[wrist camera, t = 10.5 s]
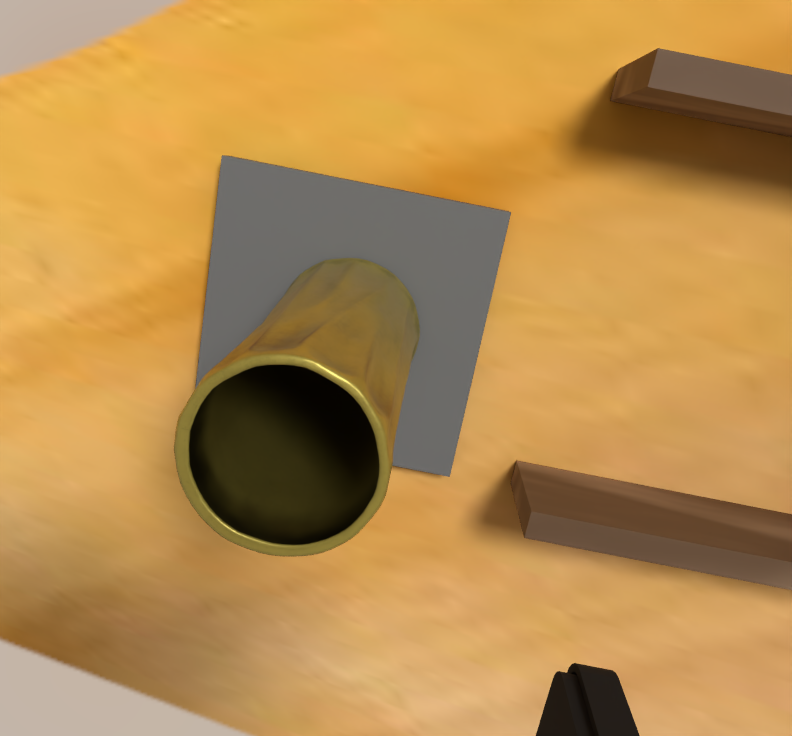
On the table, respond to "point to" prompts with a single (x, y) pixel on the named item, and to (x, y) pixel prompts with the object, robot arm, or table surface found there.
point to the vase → (303, 414)
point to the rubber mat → (370, 240)
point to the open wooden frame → (642, 505)
